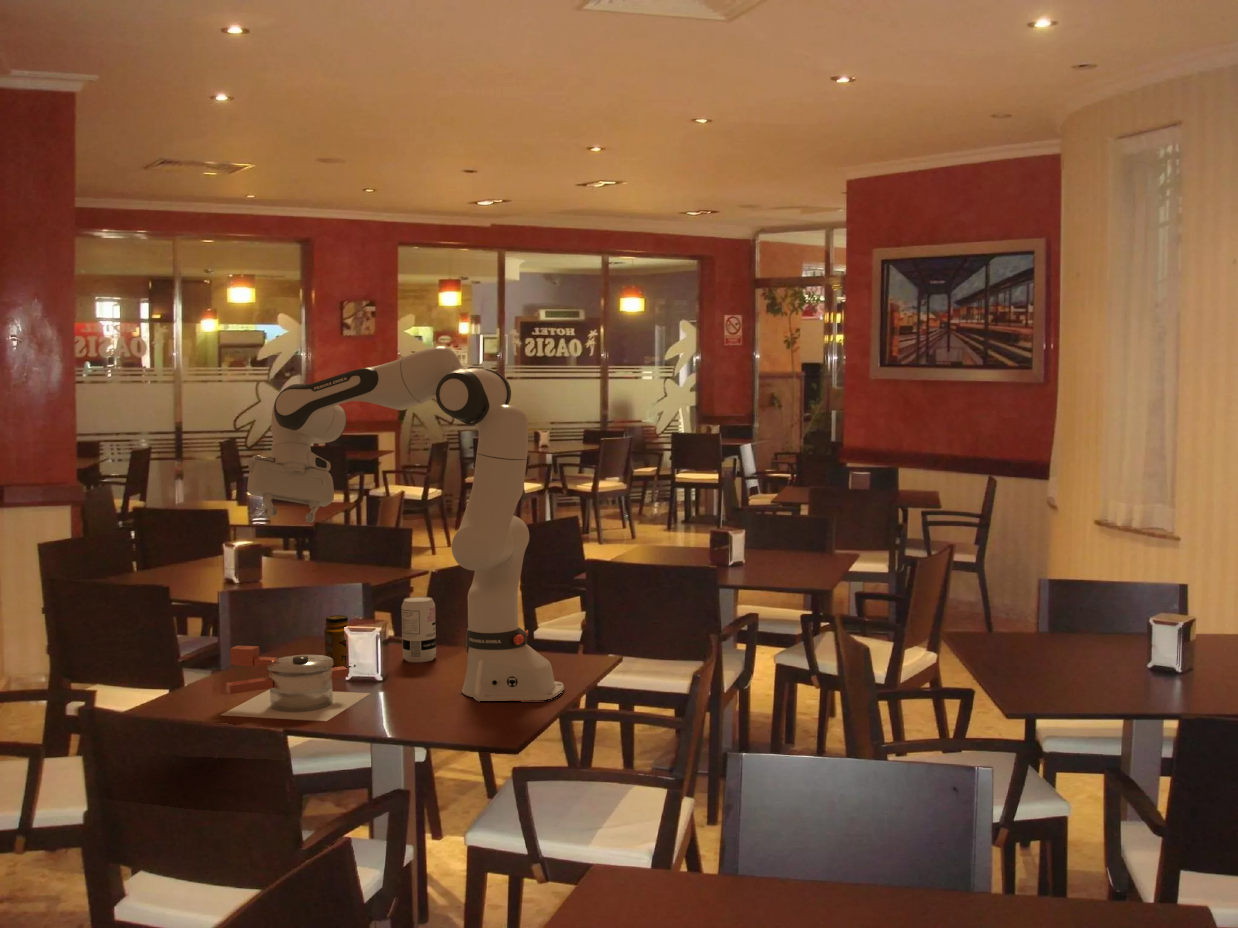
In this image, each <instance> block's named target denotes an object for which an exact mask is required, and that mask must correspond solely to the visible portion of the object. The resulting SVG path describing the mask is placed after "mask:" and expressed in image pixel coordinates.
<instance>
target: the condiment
mask: <svg viewBox="0 0 1238 928" xmlns="http://www.w3.org/2000/svg"><path fill="white" fill-rule="evenodd" d="M347 625H348V626H349V618H348V616H347V615H345V614H344V615H343V614H338V615H337V614H335V615H329V616H327V617H326V618H325V628H324V656H328V657H331V658H332V659H333V666H332V667H341V666H345V665H346V640H345V638H344V627H346V626H347Z"/></svg>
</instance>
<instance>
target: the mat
mask: <svg viewBox="0 0 1238 928" xmlns="http://www.w3.org/2000/svg"><path fill="white" fill-rule="evenodd" d="M371 694H372V693H371V692H370V693H369V692H353V691H351V692H350V691H333V703H332V705H330V706H328V707H326V708H323V709H319V710H315V711H308V712H280V711H276V710H273V709H272V708H271V706H270V688H269V689H266V690H265V691H264V692H262V693H260V694H258V695H256V696H254V697H252V698H250V699H248V700H247V701H245V702H243V703H241V704H239V705H237V706H235V707H232V708H231V709H229V710H227V711H225V712H223V713H221V714H220V716H222V717H223V716H227V717H244V718H245V717H246V718H249V717H250V718H260V719H261V718H264V719H280V720H281V719H283V720H294V721H295V720H298V721H315V722H316V721H317V722H327V721H329V720H331V719H332V718H334V717H336V716H338V715H339V714H341V713H342V712H344V711H345V710H348V709H349V708H350V707H352V706H354V705H355V704H356V703H358V702H360V701H361V700H363V699H365V698H366V697H368V696H369V695H371Z"/></svg>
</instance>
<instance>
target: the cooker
mask: <svg viewBox="0 0 1238 928" xmlns="http://www.w3.org/2000/svg"><path fill="white" fill-rule="evenodd" d="M348 677H349V667H347V668H346V667H344V666H341V667H334V668H332V667H331V668H329V669H327V670H324V671H320V672H315V673H308V674H294V675H289V674H277V673H272V672H270V671H269V675H268V676H264V677H259V678H258V677H257V678H250V679H243V680H237V681H231V682H226V683H225V690H226V692H227V694H229V695H234V694H242V693H248V692H255V691H263V690H269V689H270V706H271V708H272V709H273V710H276V711H280V712H308V711H315V710H319V709H323V708H326V707H328V706H330V705H332V703H333V680H334V679H335V680H336V679H342V678H348Z"/></svg>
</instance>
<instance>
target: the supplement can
mask: <svg viewBox="0 0 1238 928" xmlns="http://www.w3.org/2000/svg"><path fill="white" fill-rule="evenodd" d="M436 627H437V626H436V604H435V602H434V600H433V598H432V597H429V596H412V597H405V598H403V602H402V604H401V636H402V637H401V639H402V640H401V643H402V647H401V648H402V659H404V660H405V661H406V662H408V663H415V664H416V663H426V662H430V661H433V660H434V658H436V657H437V635H436V634H437V633H436V632H437V631H436V630H437V629H436Z"/></svg>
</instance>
